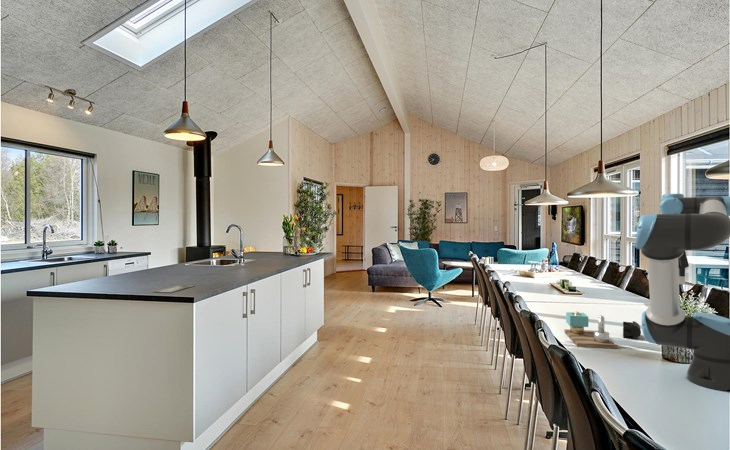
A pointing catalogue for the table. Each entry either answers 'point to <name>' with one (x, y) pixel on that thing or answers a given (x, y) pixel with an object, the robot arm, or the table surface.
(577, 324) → the collar
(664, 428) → the table surface
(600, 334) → the stand rod
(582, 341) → the board
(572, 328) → the hub
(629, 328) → the end cap
